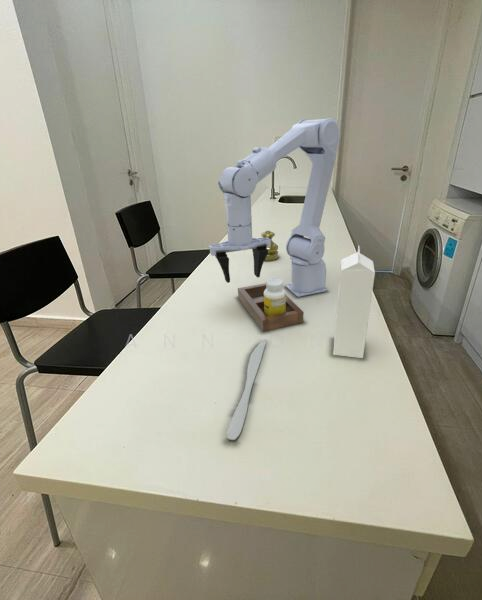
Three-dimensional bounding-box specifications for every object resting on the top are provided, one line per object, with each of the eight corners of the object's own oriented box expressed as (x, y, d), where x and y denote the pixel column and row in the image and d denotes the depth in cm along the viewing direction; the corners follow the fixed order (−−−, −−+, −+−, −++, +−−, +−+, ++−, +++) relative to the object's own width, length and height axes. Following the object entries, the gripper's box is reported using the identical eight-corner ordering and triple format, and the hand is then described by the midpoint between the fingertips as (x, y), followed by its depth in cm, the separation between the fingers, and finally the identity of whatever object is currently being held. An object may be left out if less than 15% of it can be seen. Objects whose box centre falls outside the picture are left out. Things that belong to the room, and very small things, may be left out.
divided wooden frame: (272, 291, 97) (272, 281, 95) (303, 322, 80) (303, 311, 79) (238, 297, 94) (237, 288, 92) (263, 331, 77) (262, 320, 76)
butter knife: (219, 436, 50) (238, 438, 50) (256, 339, 74) (269, 340, 73) (219, 439, 50) (238, 441, 50) (256, 342, 74) (269, 342, 73)
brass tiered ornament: (281, 256, 124) (281, 229, 119) (271, 262, 118) (271, 235, 114) (264, 253, 127) (264, 227, 123) (254, 259, 122) (253, 232, 117)
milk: (333, 355, 68) (341, 254, 58) (334, 339, 74) (341, 243, 64) (363, 358, 67) (377, 255, 57) (362, 342, 72) (375, 244, 62)
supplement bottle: (263, 312, 86) (262, 277, 81) (283, 311, 86) (284, 276, 81) (265, 323, 81) (264, 287, 76) (287, 321, 81) (287, 285, 77)
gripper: (212, 231, 70) (217, 289, 76) (275, 223, 74) (275, 279, 80) (205, 224, 76) (211, 278, 82) (264, 217, 80) (265, 269, 86)
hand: (242, 278), depth 81 cm, fingers open, 7 cm apart
